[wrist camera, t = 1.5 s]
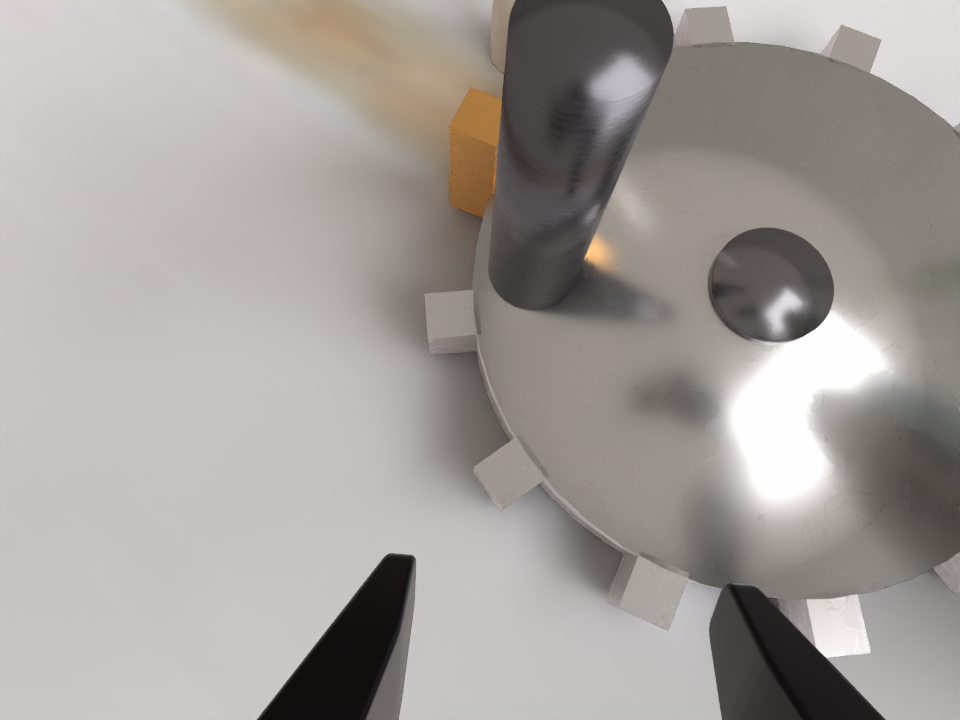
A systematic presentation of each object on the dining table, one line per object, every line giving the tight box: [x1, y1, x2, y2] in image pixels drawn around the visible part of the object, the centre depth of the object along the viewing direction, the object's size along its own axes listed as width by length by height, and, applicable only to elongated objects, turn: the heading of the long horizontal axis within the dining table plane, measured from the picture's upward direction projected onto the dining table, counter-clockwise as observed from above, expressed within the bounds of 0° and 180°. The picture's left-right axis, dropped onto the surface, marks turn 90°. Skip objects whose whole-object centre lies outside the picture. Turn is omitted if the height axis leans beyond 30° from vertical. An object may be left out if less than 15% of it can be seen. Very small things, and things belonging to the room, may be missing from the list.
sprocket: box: [424, 0, 960, 658], centre depth 18 cm, size 23×23×13 cm
